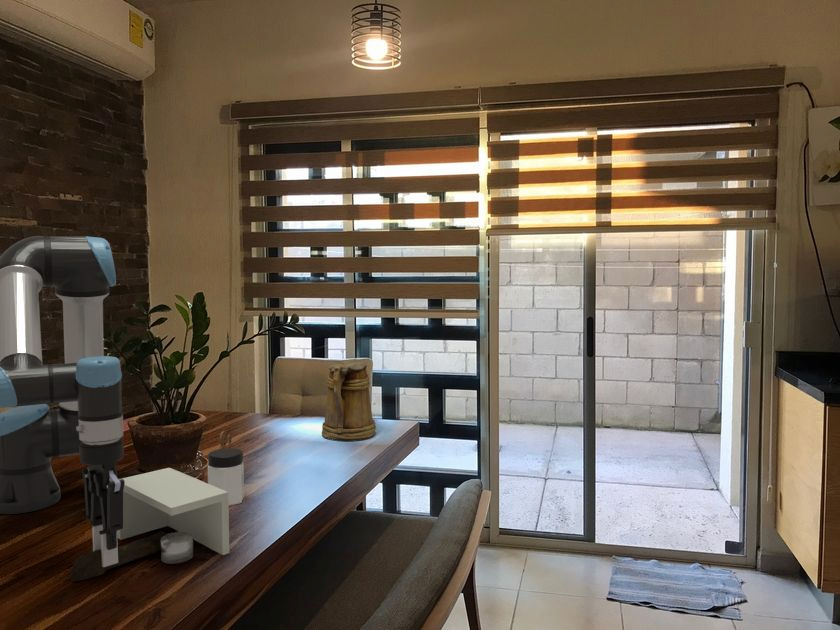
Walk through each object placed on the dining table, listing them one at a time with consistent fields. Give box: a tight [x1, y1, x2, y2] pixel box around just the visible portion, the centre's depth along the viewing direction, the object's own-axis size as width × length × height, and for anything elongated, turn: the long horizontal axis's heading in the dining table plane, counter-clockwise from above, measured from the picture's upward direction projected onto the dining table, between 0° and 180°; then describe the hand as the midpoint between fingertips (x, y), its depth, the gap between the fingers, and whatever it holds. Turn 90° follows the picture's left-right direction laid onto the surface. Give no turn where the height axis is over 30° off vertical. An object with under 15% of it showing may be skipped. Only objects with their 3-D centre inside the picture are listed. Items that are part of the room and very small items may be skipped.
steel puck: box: [160, 531, 194, 565], centre depth 136 cm, size 6×6×4 cm
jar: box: [207, 447, 245, 507], centre depth 167 cm, size 9×8×12 cm
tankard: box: [321, 358, 377, 442], centre depth 228 cm, size 18×24×25 cm
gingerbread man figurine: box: [216, 430, 233, 450], centre depth 188 cm, size 9×4×12 cm, turn 168°
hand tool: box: [69, 530, 168, 583], centre depth 132 cm, size 19×4×5 cm, turn 140°
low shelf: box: [117, 467, 230, 556], centre depth 141 cm, size 24×12×12 cm, turn 47°
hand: (105, 561), depth 130 cm, fingers open, 3 cm apart
